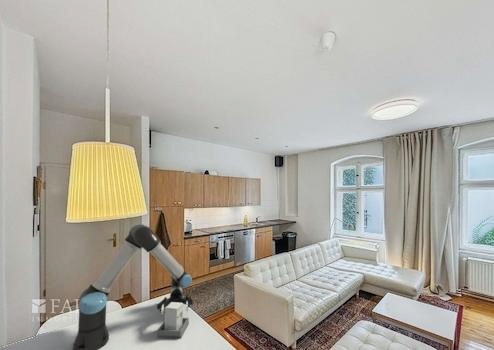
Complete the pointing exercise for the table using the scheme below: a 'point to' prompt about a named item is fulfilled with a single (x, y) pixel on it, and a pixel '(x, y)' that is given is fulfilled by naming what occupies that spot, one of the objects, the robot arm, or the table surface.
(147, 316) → the table surface
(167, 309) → the supplement box
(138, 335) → the table surface
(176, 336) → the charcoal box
